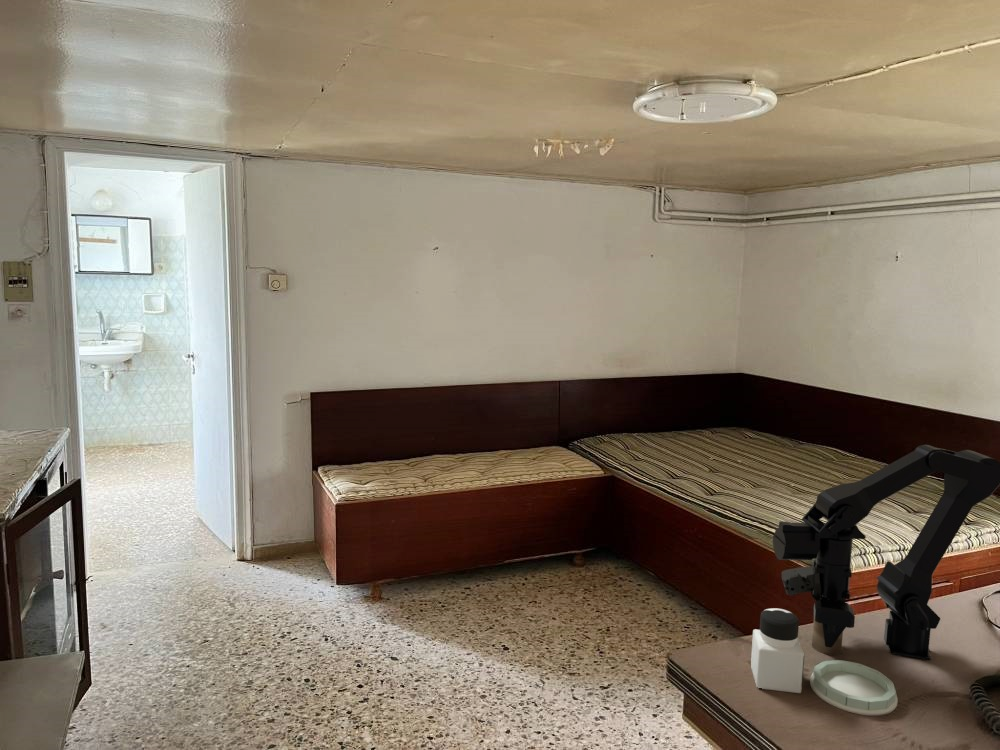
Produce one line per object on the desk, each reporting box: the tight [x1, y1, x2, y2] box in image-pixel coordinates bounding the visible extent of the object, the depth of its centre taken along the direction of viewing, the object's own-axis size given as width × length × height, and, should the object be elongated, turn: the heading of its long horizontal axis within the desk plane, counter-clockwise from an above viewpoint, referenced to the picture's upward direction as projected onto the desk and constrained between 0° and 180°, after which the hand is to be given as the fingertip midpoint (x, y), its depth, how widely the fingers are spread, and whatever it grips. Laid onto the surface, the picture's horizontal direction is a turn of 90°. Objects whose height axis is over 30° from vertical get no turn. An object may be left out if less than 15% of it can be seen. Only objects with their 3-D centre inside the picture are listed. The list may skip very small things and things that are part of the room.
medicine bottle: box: [750, 607, 805, 694], centre depth 120 cm, size 7×7×12 cm
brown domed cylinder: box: [811, 617, 844, 656], centre depth 131 cm, size 5×5×7 cm
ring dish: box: [809, 659, 899, 716], centre depth 117 cm, size 13×13×2 cm
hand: (827, 639), depth 131 cm, fingers closed on brown domed cylinder, 5 cm apart
